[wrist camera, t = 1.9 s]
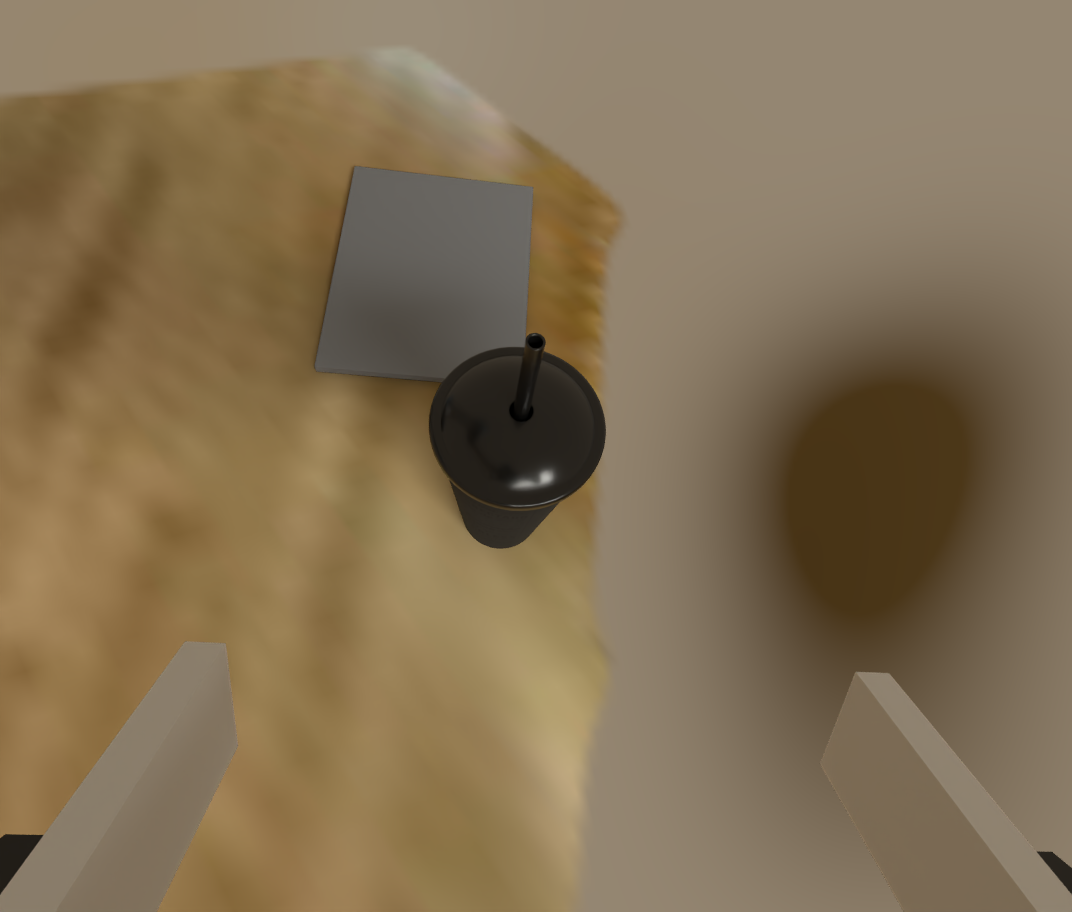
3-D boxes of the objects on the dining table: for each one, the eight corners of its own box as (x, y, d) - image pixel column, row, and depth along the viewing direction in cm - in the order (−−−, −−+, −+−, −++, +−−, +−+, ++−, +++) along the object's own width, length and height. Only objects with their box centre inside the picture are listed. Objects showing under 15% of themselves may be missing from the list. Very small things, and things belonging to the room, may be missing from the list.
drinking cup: (451, 583, 36) (439, 467, 18) (431, 467, 39) (402, 260, 20) (572, 558, 38) (676, 427, 19) (544, 448, 40) (614, 238, 22)
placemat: (316, 371, 40) (314, 366, 40) (356, 172, 47) (355, 166, 47) (522, 389, 42) (523, 385, 41) (532, 192, 48) (533, 187, 48)
